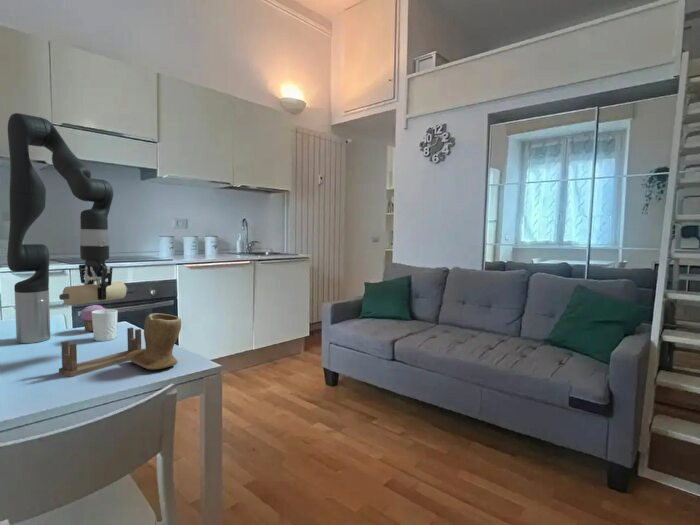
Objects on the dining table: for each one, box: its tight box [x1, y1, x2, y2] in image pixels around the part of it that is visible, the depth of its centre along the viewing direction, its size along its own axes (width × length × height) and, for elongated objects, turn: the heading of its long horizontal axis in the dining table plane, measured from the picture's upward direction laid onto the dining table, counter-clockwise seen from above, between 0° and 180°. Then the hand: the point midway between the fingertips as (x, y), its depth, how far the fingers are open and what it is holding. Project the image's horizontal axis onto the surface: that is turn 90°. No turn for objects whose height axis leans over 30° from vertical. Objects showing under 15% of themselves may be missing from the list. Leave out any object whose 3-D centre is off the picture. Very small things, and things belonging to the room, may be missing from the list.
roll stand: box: [58, 327, 142, 378], centre depth 116 cm, size 6×21×8 cm, turn 152°
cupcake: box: [79, 304, 106, 332], centre depth 152 cm, size 9×9×10 cm
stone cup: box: [126, 312, 182, 370], centre depth 117 cm, size 15×12×15 cm
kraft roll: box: [59, 281, 129, 307], centre depth 123 cm, size 6×20×6 cm, turn 152°
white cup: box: [92, 308, 119, 342], centre depth 142 cm, size 8×8×10 cm
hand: (96, 298), depth 123 cm, fingers closed on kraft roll, 5 cm apart
